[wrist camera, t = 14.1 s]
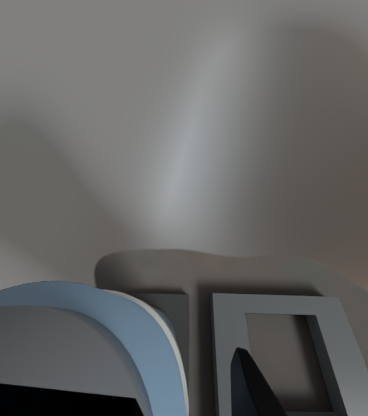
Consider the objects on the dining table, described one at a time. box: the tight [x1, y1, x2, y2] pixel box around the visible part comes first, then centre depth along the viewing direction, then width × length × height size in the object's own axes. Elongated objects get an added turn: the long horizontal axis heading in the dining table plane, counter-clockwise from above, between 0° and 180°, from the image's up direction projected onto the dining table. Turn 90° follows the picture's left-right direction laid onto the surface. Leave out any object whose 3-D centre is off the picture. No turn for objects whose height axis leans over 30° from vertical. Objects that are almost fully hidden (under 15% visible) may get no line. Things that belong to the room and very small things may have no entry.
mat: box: [125, 293, 189, 393], centre depth 15 cm, size 7×7×1 cm
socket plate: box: [210, 293, 368, 416], centre depth 14 cm, size 12×12×2 cm
